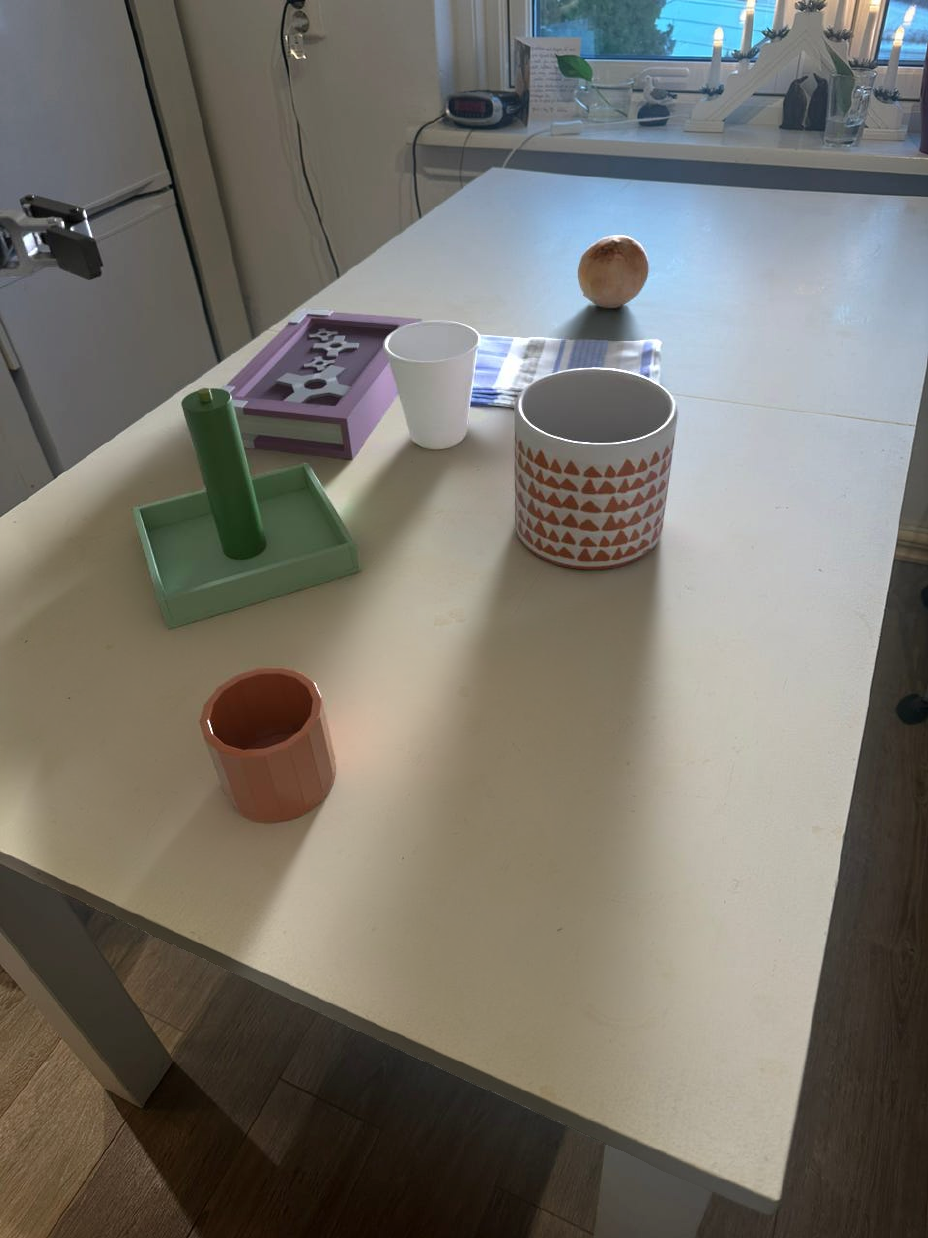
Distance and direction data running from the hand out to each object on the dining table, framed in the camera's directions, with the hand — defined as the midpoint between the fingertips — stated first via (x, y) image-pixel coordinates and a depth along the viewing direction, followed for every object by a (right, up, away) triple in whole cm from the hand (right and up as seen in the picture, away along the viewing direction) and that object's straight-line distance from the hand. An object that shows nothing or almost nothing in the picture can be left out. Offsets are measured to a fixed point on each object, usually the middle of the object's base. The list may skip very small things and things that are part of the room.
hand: (21, 283), depth 47 cm
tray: (+3, -12, +35) cm, 37 cm away
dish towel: (+35, +10, +58) cm, 68 cm away
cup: (+21, +2, +49) cm, 53 cm away
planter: (+35, -9, +36) cm, 51 cm away
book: (+7, +8, +57) cm, 58 cm away
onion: (+44, +26, +74) cm, 90 cm away
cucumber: (+3, -11, +34) cm, 36 cm away
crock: (+11, -29, +15) cm, 34 cm away
